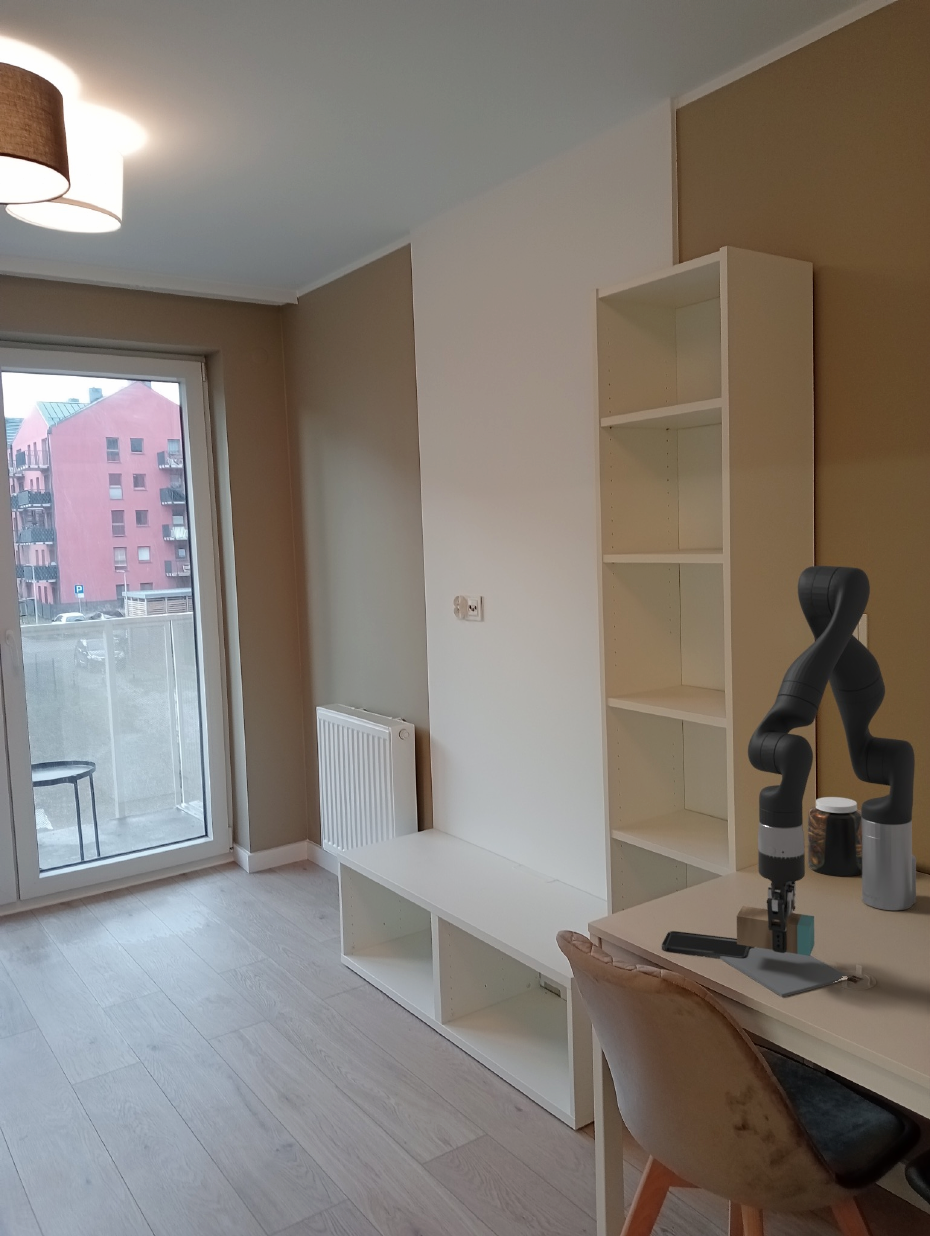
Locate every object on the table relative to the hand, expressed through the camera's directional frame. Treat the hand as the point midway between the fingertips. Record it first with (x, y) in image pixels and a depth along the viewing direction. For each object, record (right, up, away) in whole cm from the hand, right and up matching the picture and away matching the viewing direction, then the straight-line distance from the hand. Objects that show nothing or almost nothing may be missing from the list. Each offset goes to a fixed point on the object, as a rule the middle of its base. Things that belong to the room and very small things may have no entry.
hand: (782, 944), depth 164 cm
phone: (-11, -5, +10) cm, 15 cm away
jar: (+28, 0, +48) cm, 56 cm away
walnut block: (-6, +2, +3) cm, 7 cm away
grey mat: (0, -4, 0) cm, 4 cm away
